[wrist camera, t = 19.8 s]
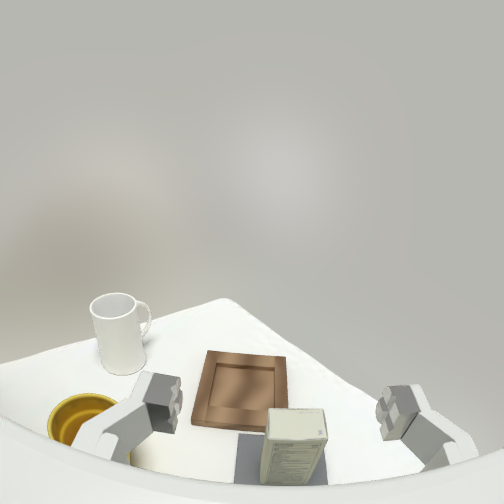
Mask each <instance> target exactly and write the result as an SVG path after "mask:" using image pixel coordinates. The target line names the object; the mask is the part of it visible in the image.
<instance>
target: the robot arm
mask: <svg viewBox="0 0 504 504" xmlns="http://www.w3.org/2000/svg"><path fill="white" fill-rule="evenodd" d="M180 386H181V379H180V377H175V376H170V375H164V374H159V373H153V372H148V371H142V372H141V373H140V376H139V378H138V380H137V382H136V384H135V386H134V389H133V391H132V393H131V395H130V398H129V399H126V398H125V399H124V400H122V401H120V402H119V403H117V404H115V405H114V406H112V407H110V408H109V409H107V410H105V411H104V412H102V413H100V414H99V415H97V416H95V417H93V418H92V419H90V420H88V421H87V422H85V423H83V424H82V425H81V427H80V429H79V431H78V433H77V435H76V437H75V439H74V441H73V443H72V445H71V447H70V446H68V445H65V444H62V443H60V442H57V441H55V440H53V439H50V438H48V437H45V436H43V435H41V434H39V433H36V432H34V431H32V430H30V429H28V428H26V427H23V426H21V425H19V424H17V423H15V422H14V421H12V420H10V419H8V418H6V417H3V416H0V504H504V447H503V448H500V449H497V450H495V451H492V452H489V453H487V454H484V455H481V456H480V455H479V453H478V451H477V448H476V446H475V444H474V442H473V440H472V438H471V436H470V435H469V434H467V433H466V432H464V431H463V430H461V429H460V428H459V427H457V426H456V425H455V424H453V423H452V422H450V421H449V420H447V419H446V418H445V417H443V416H442V415H440V414H439V413H438V412H436V411H434V410H433V411H432V410H431V408H430V406H429V403H428V401H427V399H426V397H425V395H424V393H423V390H422V389H421V386H420V385H419V384H412V385H399V386H387V387H386V388H385V389H384V390H383V392H382V393H383V396H384V397H382V398H381V399H380V400H379V401H378V403H377V405H376V418H377V421H378V422H379V423H380V424H382V425H381V427H380V432H381V435H382V439H383V441H389V440H399V439H401V441H402V442H403V443H404V444H405V445H406V446H407V447H408V448H409V449H410V450H411V451H412V452H413V453H414V454H415V455H416V456H417V457H418V458H419V459H420V460H421V461H422V462H423V463H424V465H425V467H424V468H423V469H422V470H421V471H420V472H419V473H415V474H410V475H405V476H400V477H394V478H388V479H381V480H374V481H367V482H358V483H348V484H336V485H319V486H261V485H244V484H232V483H222V482H213V481H206V480H199V479H192V478H186V477H180V476H174V475H169V474H164V473H159V472H155V471H150V470H146V469H142V468H138V467H134V466H131V464H130V462H129V460H128V458H127V456H126V455H127V454H128V453H129V452H130V451H132V450H133V449H134V448H135V447H136V446H138V445H139V444H140V443H141V442H142V441H143V440H145V439H146V438H147V437H148V436H149V435H150V434H152V433H153V431H157V432H163V433H169V434H174V433H175V429H176V426H177V422H178V420H177V415H178V414H179V413H180V411H181V408H182V391H181V390H180Z"/></svg>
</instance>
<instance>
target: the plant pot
mask: <svg viewBox="0 0 504 504" xmlns="http://www.w3.org/2000/svg"><path fill="white" fill-rule="evenodd" d="M115 404H117V402H116V401H115V400H113V399H111V398H109V397H107V396H104V395H100V394H93V393H84V394H78V395H74V396H71V397H69V398H67V399H65V400H63V401H62V402H60V403H59V404H58V405H57V406H56V407H55V408H54V409H53V411H52V412H51V414H50V416H49V419H48V425H47V429H48V435H49V438H50V439H53V440H55V441H57V442H60V443H62V444H65V445H68V446H70V447H71V445H72V443H73V441H74V439H75V437H76V435H77V433H78V431H79V429H80V427H81V425H82V424H83V423H85V422H87V421H88V420H90V419H92V418H93V417H95V416H97V415H99V414H100V413H102V412H104V411H105V410H107V409H109V408H110V407H112V406H114V405H115ZM130 453H131V451H130V452H129V453H128V454H127V455H126V456H127V458H128V460H129V462H130Z"/></svg>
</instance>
